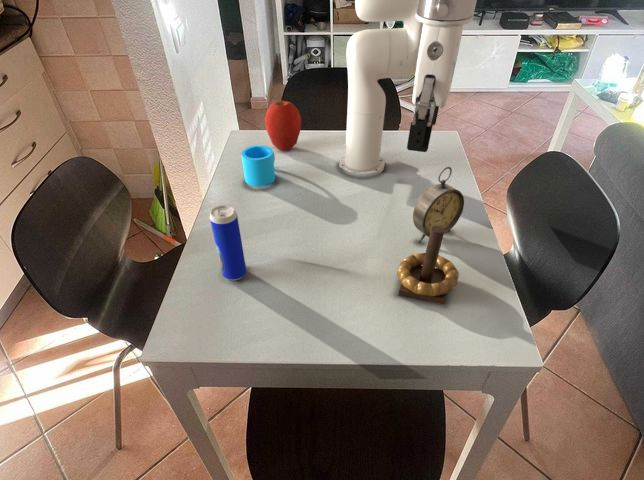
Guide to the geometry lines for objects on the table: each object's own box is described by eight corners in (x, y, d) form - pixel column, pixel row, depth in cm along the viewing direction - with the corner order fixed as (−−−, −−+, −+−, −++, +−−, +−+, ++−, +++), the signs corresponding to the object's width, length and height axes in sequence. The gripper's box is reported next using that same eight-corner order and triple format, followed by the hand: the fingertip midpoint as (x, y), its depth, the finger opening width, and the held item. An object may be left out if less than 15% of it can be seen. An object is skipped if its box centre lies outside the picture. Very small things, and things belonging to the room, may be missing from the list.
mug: (266, 192, 112) (263, 162, 106) (239, 186, 114) (235, 156, 108) (287, 172, 119) (285, 142, 113) (261, 166, 121) (258, 137, 115)
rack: (405, 268, 91) (417, 212, 81) (448, 276, 89) (465, 219, 79) (398, 295, 86) (409, 239, 75) (443, 304, 84) (461, 248, 73)
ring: (403, 255, 91) (404, 246, 90) (459, 266, 89) (462, 257, 87) (392, 291, 84) (393, 281, 82) (452, 303, 82) (455, 294, 80)
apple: (307, 144, 129) (306, 94, 119) (291, 158, 124) (288, 107, 113) (278, 138, 133) (274, 88, 122) (261, 151, 127) (256, 100, 116)
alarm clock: (419, 248, 95) (434, 179, 83) (404, 236, 98) (417, 168, 86) (457, 234, 98) (477, 166, 86) (442, 222, 102) (459, 155, 89)
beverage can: (223, 267, 93) (209, 204, 81) (246, 265, 93) (236, 203, 81) (222, 282, 89) (207, 220, 78) (246, 281, 89) (236, 218, 78)
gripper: (470, 25, 50) (438, 165, 64) (479, -10, 61) (450, 117, 74) (406, 21, 52) (388, 158, 65) (426, -12, 62) (407, 112, 76)
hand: (421, 136), depth 70 cm, fingers open, 9 cm apart
